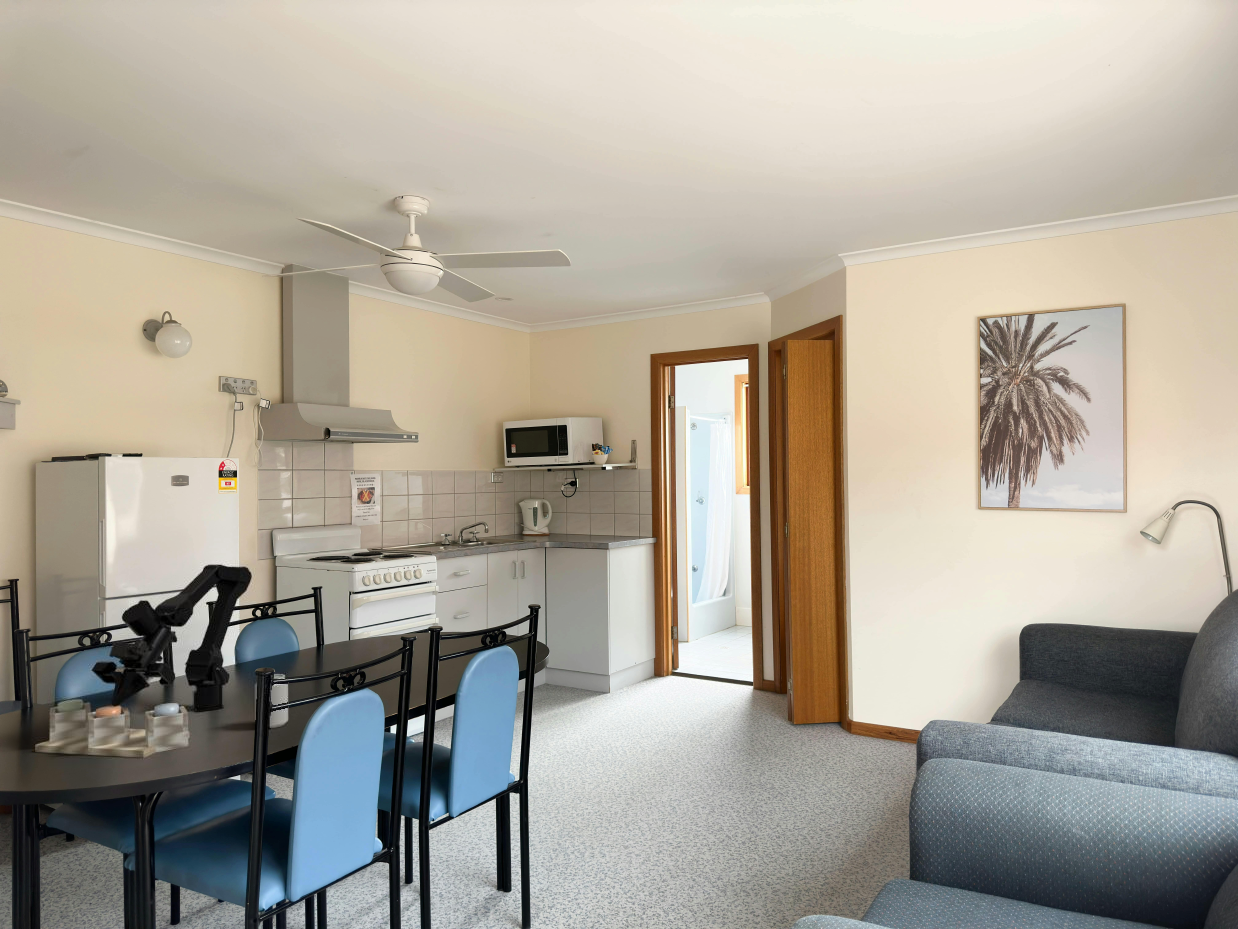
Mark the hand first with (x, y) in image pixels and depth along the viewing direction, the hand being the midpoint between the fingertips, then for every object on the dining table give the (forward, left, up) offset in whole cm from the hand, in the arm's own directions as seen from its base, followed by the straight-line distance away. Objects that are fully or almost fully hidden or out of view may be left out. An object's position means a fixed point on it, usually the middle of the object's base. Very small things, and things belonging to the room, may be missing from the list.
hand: (113, 705), depth 187 cm
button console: (0, 0, -9) cm, 9 cm away
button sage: (+8, -10, -3) cm, 13 cm away
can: (-33, +6, -9) cm, 35 cm away
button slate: (-10, +9, -3) cm, 13 cm away
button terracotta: (+1, +1, -3) cm, 4 cm away
